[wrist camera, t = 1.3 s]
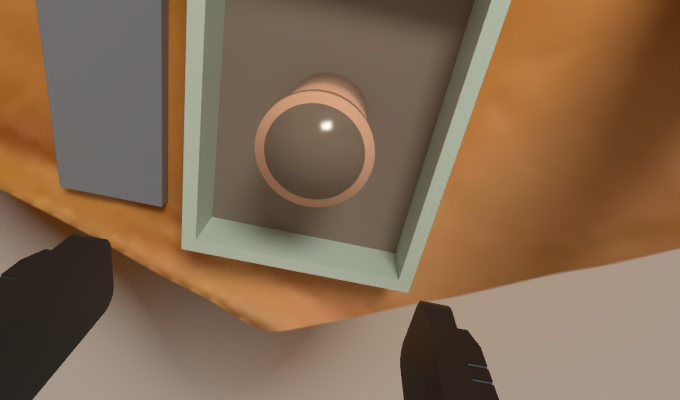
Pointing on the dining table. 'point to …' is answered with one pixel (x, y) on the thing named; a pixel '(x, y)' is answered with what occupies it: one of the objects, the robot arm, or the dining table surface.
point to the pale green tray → (383, 117)
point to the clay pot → (317, 142)
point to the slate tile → (108, 95)
